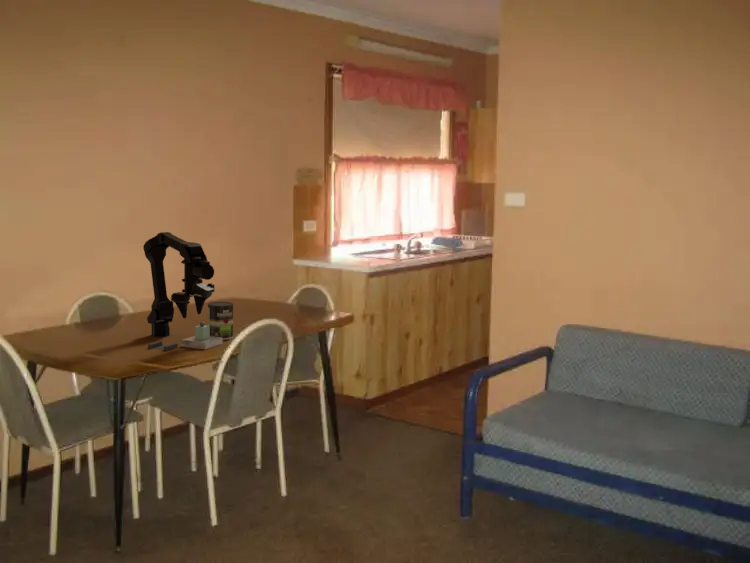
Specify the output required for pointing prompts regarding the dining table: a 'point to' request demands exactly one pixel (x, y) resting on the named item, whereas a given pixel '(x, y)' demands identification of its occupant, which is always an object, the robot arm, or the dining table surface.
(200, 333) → the plug
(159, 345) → the dark grey bracket
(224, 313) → the coffee can
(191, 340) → the port
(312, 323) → the dining table surface
